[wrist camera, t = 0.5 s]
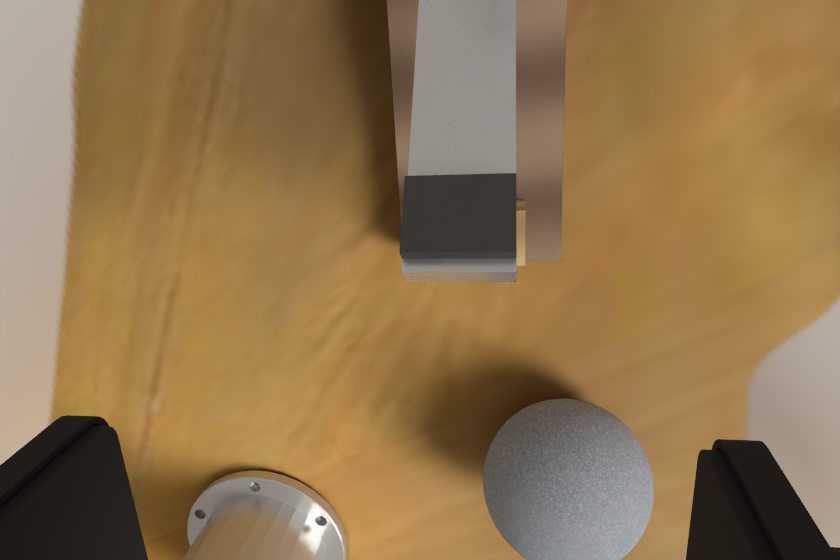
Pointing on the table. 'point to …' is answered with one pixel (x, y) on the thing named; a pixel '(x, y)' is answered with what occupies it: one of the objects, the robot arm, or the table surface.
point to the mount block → (535, 115)
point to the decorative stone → (568, 483)
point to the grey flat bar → (462, 145)
